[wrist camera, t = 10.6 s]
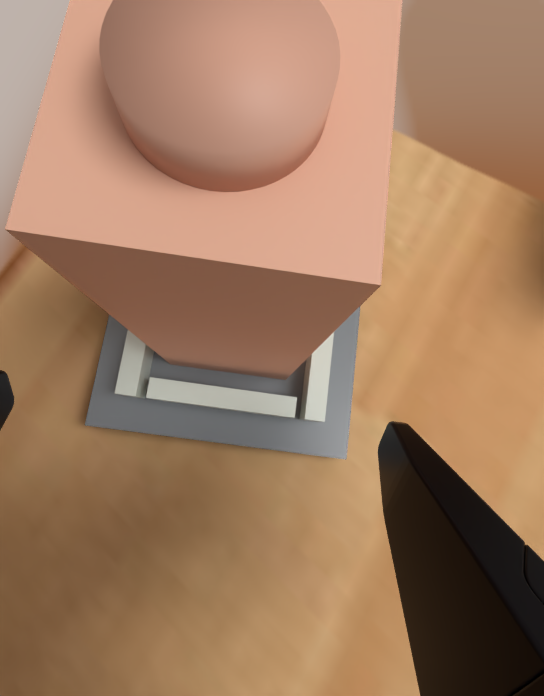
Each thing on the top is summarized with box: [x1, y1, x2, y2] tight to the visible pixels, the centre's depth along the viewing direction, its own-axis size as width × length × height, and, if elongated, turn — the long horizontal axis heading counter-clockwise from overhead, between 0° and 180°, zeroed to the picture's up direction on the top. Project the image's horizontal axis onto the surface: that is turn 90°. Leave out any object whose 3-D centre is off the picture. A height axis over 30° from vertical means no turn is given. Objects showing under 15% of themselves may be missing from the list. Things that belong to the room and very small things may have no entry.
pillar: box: [5, 0, 402, 380], centre depth 11 cm, size 5×5×13 cm
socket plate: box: [85, 307, 360, 459], centre depth 17 cm, size 11×11×3 cm
